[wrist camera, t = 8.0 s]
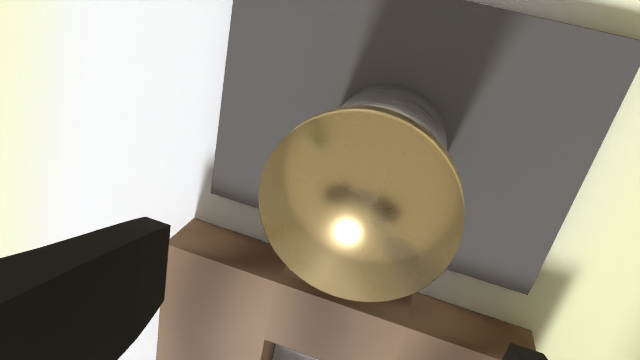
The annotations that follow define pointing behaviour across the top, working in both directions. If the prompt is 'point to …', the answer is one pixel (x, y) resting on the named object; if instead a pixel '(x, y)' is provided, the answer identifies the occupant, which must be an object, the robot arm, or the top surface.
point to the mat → (449, 98)
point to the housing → (302, 311)
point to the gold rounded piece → (365, 196)
